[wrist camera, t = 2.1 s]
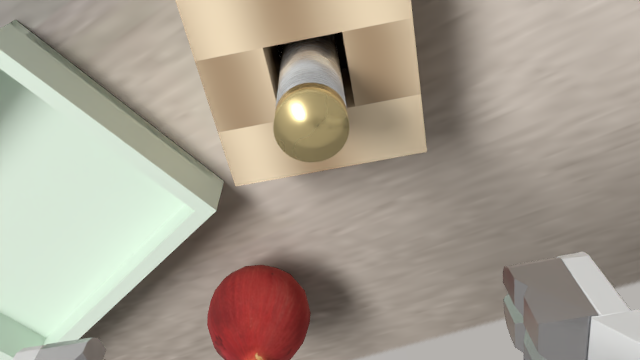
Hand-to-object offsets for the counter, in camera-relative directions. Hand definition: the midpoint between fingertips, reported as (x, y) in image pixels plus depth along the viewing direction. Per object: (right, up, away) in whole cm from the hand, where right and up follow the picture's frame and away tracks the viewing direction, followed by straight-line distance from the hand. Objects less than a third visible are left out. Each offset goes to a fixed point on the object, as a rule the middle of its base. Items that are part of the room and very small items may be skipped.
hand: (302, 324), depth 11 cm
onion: (-3, -3, +24) cm, 24 cm away
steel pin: (0, +10, +16) cm, 19 cm away
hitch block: (0, +10, +16) cm, 19 cm away
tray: (-16, +1, +21) cm, 26 cm away
